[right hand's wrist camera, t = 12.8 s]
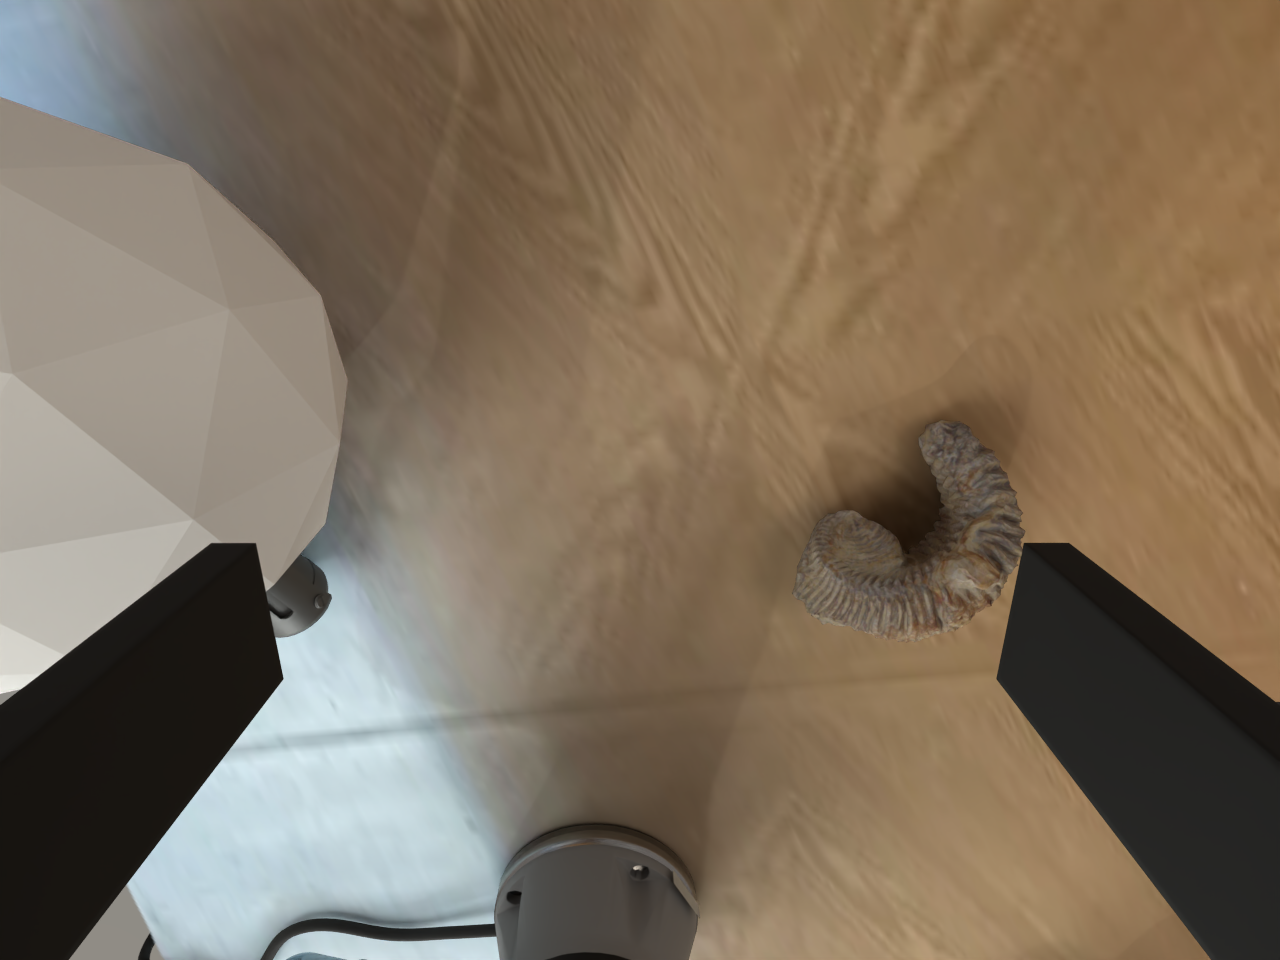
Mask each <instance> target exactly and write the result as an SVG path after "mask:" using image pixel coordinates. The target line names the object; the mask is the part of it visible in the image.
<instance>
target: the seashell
mask: <svg viewBox="0 0 1280 960" xmlns="http://www.w3.org/2000/svg"><path fill="white" fill-rule="evenodd" d="M919 447H920V448H921V453H922V456H923V458H924V459H925V461H926V463H927V464H928V465H929V466H930V469H931V473H932V474H933V475H934V476H935V477H936V484H937V490H938V491H939V492H940V493H941V494H942V495H940V501H941V503H942V504H944V505H945V506H944V507H942V508H939V517H940V519H941V520H940V521H935V523H934V525H933V526H934V529H935V531H931V532H928V533H927V534H926V535H925V538H926V540H924V541H920V542H919V545H918V547H913V546H912V547H911V548H910V549H909V551H908V554H906V553H903V551H902V548H901V545H900V542H899V540H898V539H897V537H896V536H895V535H893V534H892V533H891V532H890V531H889V530H886V529H885V528H884V527H883V526H881V525H880V524H878V523H876V522H874V521H870V520H868V519H866V518H863V517H862V516H861V515H860V514H859V512H856V511H853V510H843V511H838V512H837V513H835V514H827V515H826V516H825V517H824V518H822V519H821V520H820V521H819V522H818V523H817V525H816V527H815V528H814V530H813V532H812V534H811V538H810V541H809V542H808V544H807V546H806V548H805V550H804V552H803V554H802V557H801V560H800V562H799V564H798V566H797V578H796V583H795V586H794V590H793V593H792V594H793V595H794V596H795V597H796V598H797V599H798V600H801V601H803V602H805V606H806V610H807V612H808V613H810V614H811V616H813V617H815V618H817V619H819V620H820V621H821V623H822V624H826V623H830V624H832V625H835V626H843V627H844V626H851V627H852V628H853V629H854V630H855V631H859V630H862V631H864V632H866V633H868V634H872V635H874V636H875V638H882V639H886V640H888V639H895V640H897V641H898V642H899V641H905V642H908V641H914V642H916V641H918V640H921V639H923V638H928V637H931V636H933V635H934V634H942V633H944V632H946V633H947V632H948V631H956V630H957V629H958V628H959V627H963V625H965V624H968V623H970V622H971V618H972V617H973V616H974V615H975V613H977V612H980V611H981V610H982V609H984V608H985V607H990V606H992V605H991V604H992V603H993V602H994V601H995V600H996V599H997V598H998V597H999V596H1000V595H1001V589H1002V588H1003V587H1004V584H1005V583H1006V582H1007V578H1008V574H1011V573H1012V571H1013V569H1014V568H1015V567H1016V566H1018V564H1017V561H1018V558H1019V557H1021V555H1022V550H1023V549H1022V547H1021V540H1020V539H1021V538H1023V536H1024V534H1025V530H1023V529H1022V528H1021V527H1020V526H1019V524H1020V522H1022V521H1021V518H1020V516H1021V515H1022V514H1023V512H1022V511H1021V510H1020V509H1019V507H1018V505H1017V499H1016V498H1015V495H1016V493H1017V492H1016V491H1014V490H1013V489H1012V488H1011V486H1010V485H1009V480H1008V476H1007V473H1006V472H1004V471H1003V470H1002V469H1001V467H1000V461H999V460H998V459H997V458H996V457H995V456H994V453H995V451H993V450H990V449H987V448H986V447H984V446H983V445H982V444H980V442H979V439H977V438H975V437H974V436H973V435H972V432H971V429H970V427H968V426H967V425H965V424H963V423H961V422H960V421H958V422H948V421H944V420H940V421H939V422H937V423H932V424H928V425H926V428H925V432H924V433H923V434H921V435H920V437H919Z"/></svg>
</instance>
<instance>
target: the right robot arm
mask: <svg viewBox="0 0 1280 960" xmlns="http://www.w3.org/2000/svg"><path fill="white" fill-rule="evenodd" d="M282 680H283V674H282V669H281V664H280V659H279V654H278V649H277V644H276V639H275V634H274V629H273V624H272V619H271V615H270V610H269V605H268V600H267V595H266V590H265V585H264V580H263V575H262V570H261V565H260V560H259V555H258V550H257V545H256V543H211V544H209V545H208V546H207V547H205V548H204V549H203V550H201V551H200V552H199V553H198V554H196V555H195V556H194V557H192V558H191V559H190V560H188V561H187V562H186V563H185V564H183V565H182V566H181V567H179V568H178V569H177V570H175V571H174V572H173V573H172V574H170V575H169V576H168V577H166V578H165V579H164V580H162V581H161V582H160V583H159V584H157V585H156V586H155V587H153V588H152V589H151V590H149V591H148V592H147V593H146V594H144V595H143V596H142V597H140V598H139V599H138V600H136V601H135V602H134V603H133V604H131V605H130V606H129V607H127V608H126V609H125V610H123V611H122V612H121V613H120V614H118V615H117V616H116V617H114V618H113V619H112V620H110V621H109V622H108V623H107V624H105V625H104V626H103V627H101V628H100V629H99V630H97V631H96V632H95V633H94V634H92V635H91V636H90V637H88V638H87V639H86V640H84V641H83V642H82V643H81V644H79V645H78V646H77V647H75V648H74V649H73V650H71V651H70V652H69V653H68V654H66V655H65V656H64V657H62V658H61V659H60V660H58V661H57V662H56V663H55V664H53V665H52V666H51V667H49V668H48V669H47V670H45V671H44V672H43V673H42V674H40V675H39V676H38V677H36V678H35V679H34V680H32V681H31V682H30V683H29V684H27V685H26V686H25V687H23V688H22V689H21V690H19V691H18V692H17V693H16V694H14V695H13V696H12V697H10V698H9V699H8V700H6V701H5V702H4V703H3V704H1V705H0V960H69V959H70V957H71V956H72V955H73V953H74V952H75V951H76V949H77V948H78V947H79V946H80V944H81V943H82V942H83V940H84V939H85V938H86V936H87V935H88V934H89V933H90V931H91V930H92V929H93V927H94V926H95V925H96V923H97V922H98V921H99V919H100V918H101V917H102V915H103V914H104V913H105V912H106V910H107V909H108V908H109V906H110V905H111V904H112V902H113V901H114V900H115V899H116V897H117V896H118V895H119V893H120V892H121V891H122V889H123V888H124V887H125V885H126V884H127V883H128V882H129V880H130V879H131V878H132V876H133V875H134V874H135V872H136V871H137V870H138V868H139V867H140V866H141V865H142V863H143V862H144V861H145V859H146V858H147V857H148V855H149V854H150V853H151V851H152V850H153V849H154V848H155V846H156V845H157V844H158V842H159V841H160V840H161V838H162V837H163V836H164V835H165V833H166V832H167V831H168V829H169V828H170V827H171V825H172V824H173V823H174V821H175V820H176V819H177V818H178V816H179V815H180V814H181V812H182V811H183V810H184V808H185V807H186V806H187V804H188V803H189V802H190V801H191V799H192V798H193V797H194V795H195V794H196V793H197V791H198V790H199V789H200V787H201V786H202V785H203V784H204V782H205V781H206V780H207V778H208V777H209V776H210V774H211V773H212V772H213V770H214V769H215V768H216V767H217V765H218V764H219V763H220V761H221V760H222V759H223V757H224V756H225V755H226V753H227V752H228V751H229V750H230V748H231V747H232V746H233V744H234V743H235V742H236V740H237V739H238V738H239V736H240V735H241V734H242V733H243V731H244V730H245V729H246V727H247V726H248V725H249V723H250V722H251V721H252V720H253V718H254V717H255V716H256V714H257V713H258V712H259V710H260V709H261V708H262V706H263V705H264V704H265V703H266V701H267V700H268V699H269V697H270V696H271V695H272V693H273V692H274V691H275V689H276V688H277V687H278V686H279V684H280V683H281V682H282ZM997 680H998V682H999V683H1000V684H1001V686H1002V687H1003V688H1004V689H1005V691H1006V692H1007V693H1008V695H1009V696H1010V697H1011V699H1012V700H1013V701H1014V703H1015V704H1016V705H1017V706H1018V708H1019V709H1020V710H1021V712H1022V713H1023V714H1024V716H1025V717H1026V718H1027V720H1028V721H1029V722H1030V723H1031V725H1032V726H1033V727H1034V729H1035V730H1036V731H1037V733H1038V734H1039V735H1040V736H1041V738H1042V739H1043V740H1044V742H1045V743H1046V744H1047V746H1048V747H1049V748H1050V750H1051V751H1052V752H1053V753H1054V755H1055V756H1056V757H1057V759H1058V760H1059V761H1060V763H1061V764H1062V765H1063V767H1064V768H1065V769H1066V770H1067V772H1068V773H1069V774H1070V776H1071V777H1072V778H1073V780H1074V781H1075V782H1076V784H1077V785H1078V786H1079V787H1080V789H1081V790H1082V791H1083V793H1084V794H1085V795H1086V797H1087V798H1088V799H1089V801H1090V802H1091V803H1092V804H1093V806H1094V807H1095V808H1096V810H1097V811H1098V812H1099V814H1100V815H1101V816H1102V818H1103V819H1104V820H1105V821H1106V823H1107V824H1108V825H1109V827H1110V828H1111V829H1112V831H1113V832H1114V833H1115V835H1116V836H1117V837H1118V838H1119V840H1120V841H1121V842H1122V844H1123V845H1124V846H1125V848H1126V849H1127V850H1128V852H1129V853H1130V854H1131V855H1132V857H1133V858H1134V859H1135V861H1136V862H1137V863H1138V865H1139V866H1140V867H1141V868H1142V870H1143V871H1144V872H1145V874H1146V875H1147V876H1148V878H1149V879H1150V880H1151V882H1152V883H1153V884H1154V885H1155V887H1156V888H1157V889H1158V891H1159V892H1160V893H1161V895H1162V896H1163V897H1164V899H1165V900H1166V901H1167V902H1168V904H1169V905H1170V906H1171V908H1172V909H1173V910H1174V912H1175V913H1176V914H1177V916H1178V917H1179V918H1180V919H1181V921H1182V922H1183V923H1184V925H1185V926H1186V927H1187V929H1188V930H1189V931H1190V933H1191V934H1192V935H1193V936H1194V938H1195V939H1196V940H1197V942H1198V943H1199V944H1200V946H1201V947H1202V948H1203V950H1204V951H1205V952H1206V953H1207V955H1208V956H1209V957H1210V959H1211V960H1280V702H1275V701H1274V700H1272V699H1271V698H1270V697H1268V696H1267V695H1266V694H1264V693H1263V692H1262V691H1261V690H1259V689H1258V688H1257V687H1255V686H1254V685H1253V684H1251V683H1250V682H1249V681H1248V680H1246V679H1245V678H1244V677H1242V676H1241V675H1240V674H1238V673H1237V672H1236V671H1235V670H1233V669H1232V668H1231V667H1229V666H1228V665H1227V664H1225V663H1224V662H1223V661H1222V660H1220V659H1219V658H1218V657H1216V656H1215V655H1214V654H1212V653H1211V652H1210V651H1209V650H1207V649H1206V648H1205V647H1203V646H1202V645H1201V644H1199V643H1198V642H1197V641H1196V640H1194V639H1193V638H1192V637H1190V636H1189V635H1188V634H1186V633H1185V632H1184V631H1183V630H1181V629H1180V628H1179V627H1177V626H1176V625H1175V624H1173V623H1172V622H1171V621H1170V620H1168V619H1167V618H1166V617H1164V616H1163V615H1162V614H1160V613H1159V612H1158V611H1157V610H1155V609H1154V608H1153V607H1151V606H1150V605H1149V604H1147V603H1146V602H1145V601H1144V600H1142V599H1141V598H1140V597H1138V596H1137V595H1136V594H1134V593H1133V592H1132V591H1131V590H1129V589H1128V588H1127V587H1125V586H1124V585H1123V584H1121V583H1120V582H1119V581H1118V580H1116V579H1115V578H1114V577H1112V576H1111V575H1110V574H1108V573H1107V572H1106V571H1105V570H1103V569H1102V568H1101V567H1099V566H1098V565H1097V564H1095V563H1094V562H1093V561H1092V560H1090V559H1089V558H1088V557H1086V556H1085V555H1084V554H1082V553H1081V552H1080V551H1079V550H1077V549H1076V548H1075V547H1073V546H1072V545H1071V544H1069V543H1024V545H1023V550H1022V555H1021V560H1020V565H1019V570H1018V575H1017V580H1016V585H1015V590H1014V595H1013V600H1012V605H1011V610H1010V615H1009V619H1008V624H1007V629H1006V634H1005V639H1004V644H1003V649H1002V654H1001V659H1000V664H999V669H998V674H997ZM698 917H699V918H700V913H699V904H698V903H697V902H696V893H695V887H694V883H693V880H692V877H691V875H690V873H689V871H688V869H687V868H686V866H685V865H684V863H683V862H682V861H681V860H680V859H679V857H678V856H677V855H676V854H675V853H674V852H673V851H671V850H670V849H669V848H668V847H666V846H665V845H664V844H662V843H660V842H659V841H657V840H656V839H654V838H652V837H650V836H648V835H645V834H643V833H640V832H637V831H634V830H631V829H627V828H623V827H618V826H611V825H580V826H573V827H568V828H564V829H560V830H557V831H554V832H551V833H548V834H546V835H544V836H541V837H540V838H538V839H536V840H534V841H532V842H531V843H529V844H528V845H527V846H525V847H524V848H523V849H522V850H520V851H519V852H518V853H517V854H516V855H515V856H514V858H513V859H512V860H511V861H510V863H509V864H508V866H507V867H506V869H505V871H504V873H503V876H502V878H501V882H500V885H499V890H498V895H497V900H496V905H495V911H494V921H495V924H483V925H466V926H448V927H433V928H415V929H399V928H386V927H379V926H373V925H368V924H362V923H357V922H352V921H346V920H339V919H327V918H326V919H311V920H306V921H301V922H298V923H296V924H293V925H291V926H289V927H288V928H286V929H284V930H282V931H281V932H280V933H279V934H278V935H277V936H276V937H275V938H274V939H273V940H272V942H271V943H270V945H269V946H268V948H267V949H266V951H265V953H264V955H263V956H262V958H261V960H273V958H274V956H275V955H276V953H277V951H278V950H279V948H280V947H281V946H282V945H283V944H284V943H285V942H286V941H287V940H288V939H290V938H291V937H293V936H296V935H299V934H302V933H307V932H314V931H332V932H340V933H346V934H351V935H357V936H362V937H367V938H373V939H379V940H388V941H426V940H442V939H461V938H479V937H496V936H497V943H498V950H499V957H500V960H689V956H690V953H691V949H692V945H693V941H694V938H695V934H696V930H697V923H698ZM154 945H155V941H154V939H153V936H152V935H151V932H150V933H149V935H148V937H147V938H146V940H145V942H144V944H143V946H142V948H141V950H140V953H139V956H138V960H150V954H151V951H152V948H153V946H154ZM286 960H345V959H340V958H336V957H331V956H326V955H322V954H317V953H311V952H309V953H300V954H297V955H294V956H292V957H290V958H288V959H286ZM361 960H366V959H361Z"/></svg>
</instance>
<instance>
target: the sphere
mask: <svg viewBox="0 0 1280 960" xmlns="http://www.w3.org/2000/svg"><path fill="white" fill-rule="evenodd" d="M347 384H348V379H347V376H346V373H345V370H344V367H343V364H342V360H341V357H340V354H339V351H338V348H337V345H336V341H335V338H334V335H333V332H332V329H331V326H330V322H329V319H328V316H327V313H326V310H325V307H324V303H323V300H322V297H321V295H320V294H319V292H318V291H317V290H316V289H315V288H314V287H313V285H312V284H311V283H310V282H309V281H308V280H307V279H306V277H305V276H304V275H303V274H302V273H301V272H300V270H299V269H298V268H297V267H296V266H295V265H294V263H293V262H292V261H291V260H290V259H289V258H288V257H287V255H286V254H285V253H284V252H283V251H282V250H281V248H280V247H279V246H278V245H277V244H276V243H275V241H274V240H273V239H271V238H270V237H269V236H268V235H267V234H266V233H265V232H264V231H262V230H261V229H260V228H259V227H258V226H257V225H256V224H255V223H253V222H252V221H251V220H250V219H249V218H248V217H247V216H246V215H245V214H243V213H242V212H241V211H240V210H239V209H238V208H237V207H236V206H234V205H233V204H232V203H231V202H230V201H229V200H228V199H227V198H226V197H224V196H223V195H222V194H221V193H220V192H219V191H218V190H217V189H215V188H214V187H213V186H212V185H211V184H210V183H209V182H208V181H206V180H205V179H204V178H203V177H202V176H201V175H200V174H199V173H198V172H196V171H195V170H194V169H193V168H192V167H191V166H190V165H189V164H187V163H184V162H181V161H179V160H176V159H173V158H170V157H167V156H165V155H162V154H159V153H156V152H153V151H151V150H148V149H145V148H142V147H139V146H137V145H134V144H131V143H128V142H125V141H122V140H120V139H117V138H114V137H111V136H108V135H106V134H103V133H100V132H97V131H94V130H92V129H89V128H86V127H83V126H80V125H77V124H75V123H72V122H69V121H66V120H63V119H61V118H58V117H55V116H52V115H49V114H47V113H44V112H41V111H38V110H35V109H33V108H30V107H27V106H24V105H21V104H18V103H16V102H13V101H10V100H7V99H4V98H2V97H0V694H1V693H5V692H9V691H14V690H18V689H22V688H23V687H25V686H26V685H27V684H29V683H30V682H31V681H32V680H34V679H35V678H36V677H38V676H39V675H40V674H42V673H43V672H44V671H45V670H47V669H48V668H49V667H51V666H52V665H53V664H55V663H56V662H57V661H58V660H60V659H61V658H62V657H64V656H65V655H66V654H68V653H69V652H70V651H71V650H73V649H74V648H75V647H77V646H78V645H79V644H81V643H82V642H83V641H84V640H86V639H87V638H88V637H90V636H91V635H92V634H94V633H95V632H96V631H97V630H99V629H100V628H101V627H103V626H104V625H105V624H107V623H108V622H109V621H110V620H112V619H113V618H114V617H116V616H117V615H118V614H120V613H121V612H122V611H123V610H125V609H126V608H127V607H129V606H130V605H131V604H133V603H134V602H135V601H136V600H138V599H139V598H140V597H142V596H143V595H144V594H146V593H147V592H148V591H149V590H151V589H152V588H153V587H155V586H156V585H157V584H159V583H160V582H161V581H162V580H164V579H165V578H166V577H168V576H169V575H170V574H172V573H173V572H174V571H175V570H177V569H178V568H179V567H181V566H182V565H183V564H185V563H186V562H187V561H188V560H190V559H191V558H192V557H194V556H195V555H196V554H198V553H199V552H200V551H201V550H203V549H204V548H205V547H207V546H208V545H209V544H211V543H256V545H257V550H258V555H259V560H260V565H261V570H262V575H263V580H264V585H265V590H266V595H267V600H268V605H269V610H270V615H271V619H272V624H273V629H274V634H275V637H278V638H281V637H289V636H292V635H296V634H298V633H300V632H302V631H304V630H306V629H307V628H309V627H311V626H312V625H313V624H314V623H316V622H317V621H318V620H319V619H320V618H321V617H322V615H323V614H324V613H325V611H326V610H327V608H328V606H329V604H330V602H331V599H332V596H331V594H329V593H328V583H327V579H326V576H325V574H324V572H323V571H322V570H321V569H320V568H319V567H318V566H317V565H315V564H314V563H313V562H311V561H310V560H309V559H307V558H305V557H303V556H301V555H300V553H301V552H302V551H303V550H304V549H305V547H306V546H307V545H308V544H309V543H310V541H311V540H312V539H313V538H314V537H315V536H316V534H317V533H318V532H319V531H320V530H321V528H322V527H323V526H324V525H325V524H326V518H327V513H328V507H329V502H330V496H331V491H332V485H333V480H334V474H335V469H336V463H337V458H338V452H339V447H340V440H341V432H342V424H343V416H344V408H345V400H346V392H347Z"/></svg>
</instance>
